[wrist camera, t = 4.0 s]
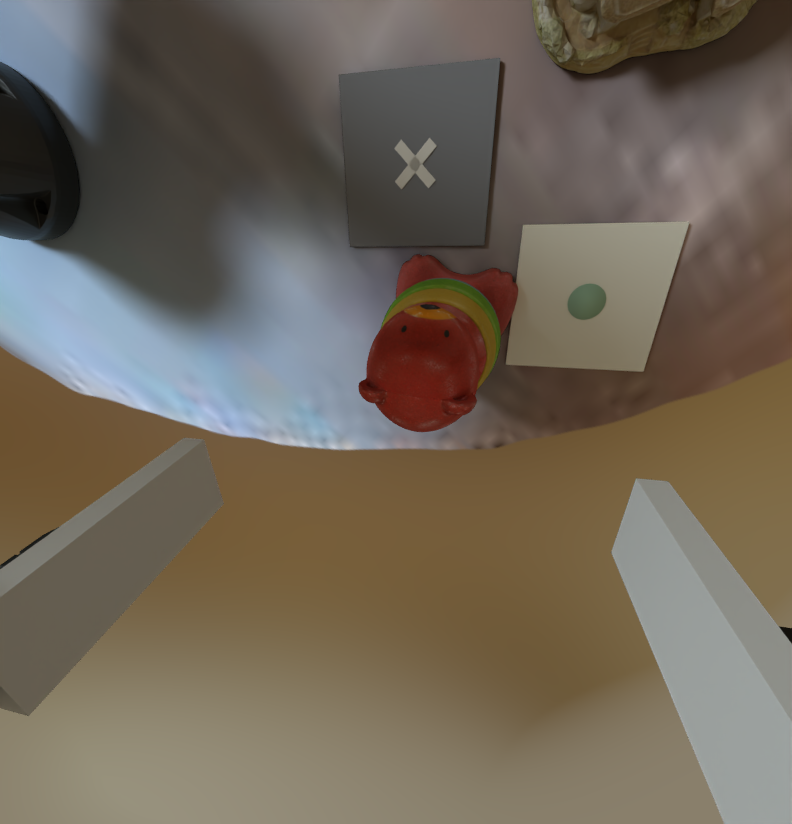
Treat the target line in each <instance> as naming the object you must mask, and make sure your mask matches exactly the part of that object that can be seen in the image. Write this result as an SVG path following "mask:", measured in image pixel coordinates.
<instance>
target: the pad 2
mask: <svg viewBox="0 0 792 824" xmlns="http://www.w3.org/2000/svg"><path fill="white" fill-rule="evenodd" d="M688 225H689V222H645V223H594V224H542V225H523V229H522V237H521V245H520V253H519V261H518V268H517V276H516V284H517V286H518V297H517V301H516V305H515V309H514V311H513V314H512V317H511V324H510V332H509V340H508V348H507V356H506V365H521V366H541V367H560V368H580V369H599V370H619V371H638V372H643V371H644V368H645V365H646V362H647V358H648V355H649V352H650V349H651V345H652V342H653V339H654V336H655V332H656V329H657V326H658V323H659V319H660V316H661V313H662V310H663V306H664V303H665V300H666V297H667V293H668V290H669V287H670V284H671V280H672V277H673V274H674V271H675V267H676V264H677V261H678V258H679V255H680V251H681V248H682V245H683V242H684V238H685V235H686V232H687V229H688Z"/></svg>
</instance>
